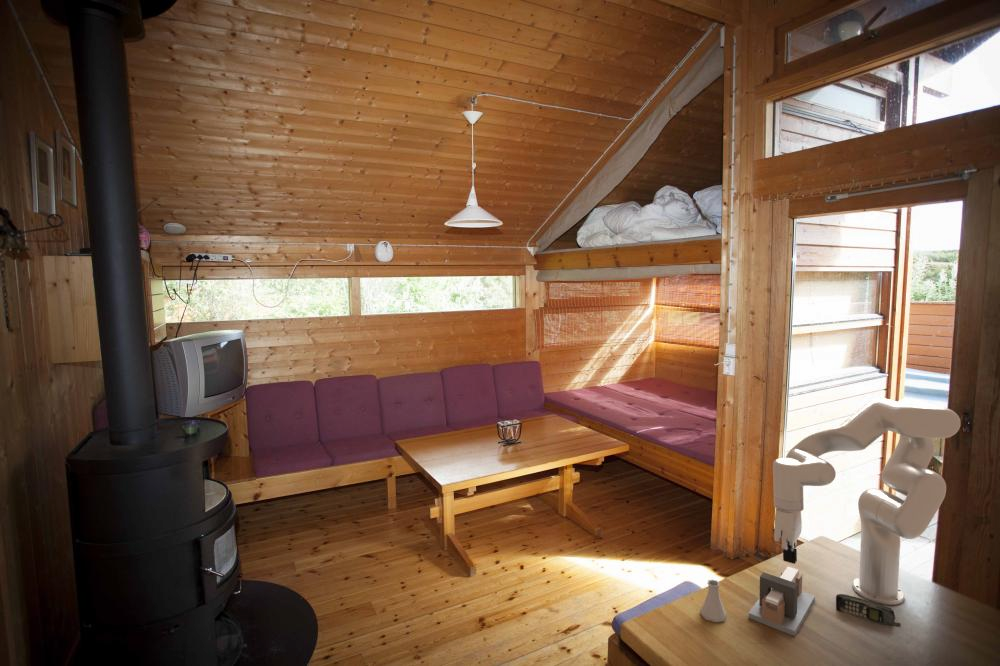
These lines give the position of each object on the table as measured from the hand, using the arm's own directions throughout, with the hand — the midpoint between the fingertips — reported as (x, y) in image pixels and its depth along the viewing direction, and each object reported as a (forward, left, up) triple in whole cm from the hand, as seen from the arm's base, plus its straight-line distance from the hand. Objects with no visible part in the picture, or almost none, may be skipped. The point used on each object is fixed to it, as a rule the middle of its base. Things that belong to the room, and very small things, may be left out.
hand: (790, 561), depth 156 cm
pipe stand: (+4, -1, -13) cm, 14 cm away
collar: (+8, -1, -11) cm, 14 cm away
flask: (+19, -15, -14) cm, 28 cm away
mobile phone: (-7, +18, -14) cm, 24 cm away
